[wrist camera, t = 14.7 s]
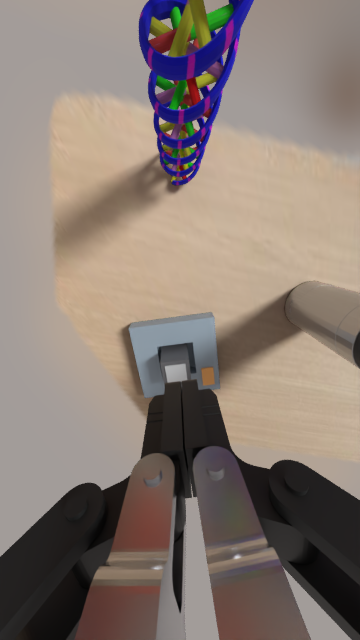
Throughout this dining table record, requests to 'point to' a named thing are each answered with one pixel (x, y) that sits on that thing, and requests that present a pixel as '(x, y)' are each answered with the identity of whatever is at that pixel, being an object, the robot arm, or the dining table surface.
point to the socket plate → (170, 332)
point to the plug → (175, 363)
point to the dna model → (188, 73)
